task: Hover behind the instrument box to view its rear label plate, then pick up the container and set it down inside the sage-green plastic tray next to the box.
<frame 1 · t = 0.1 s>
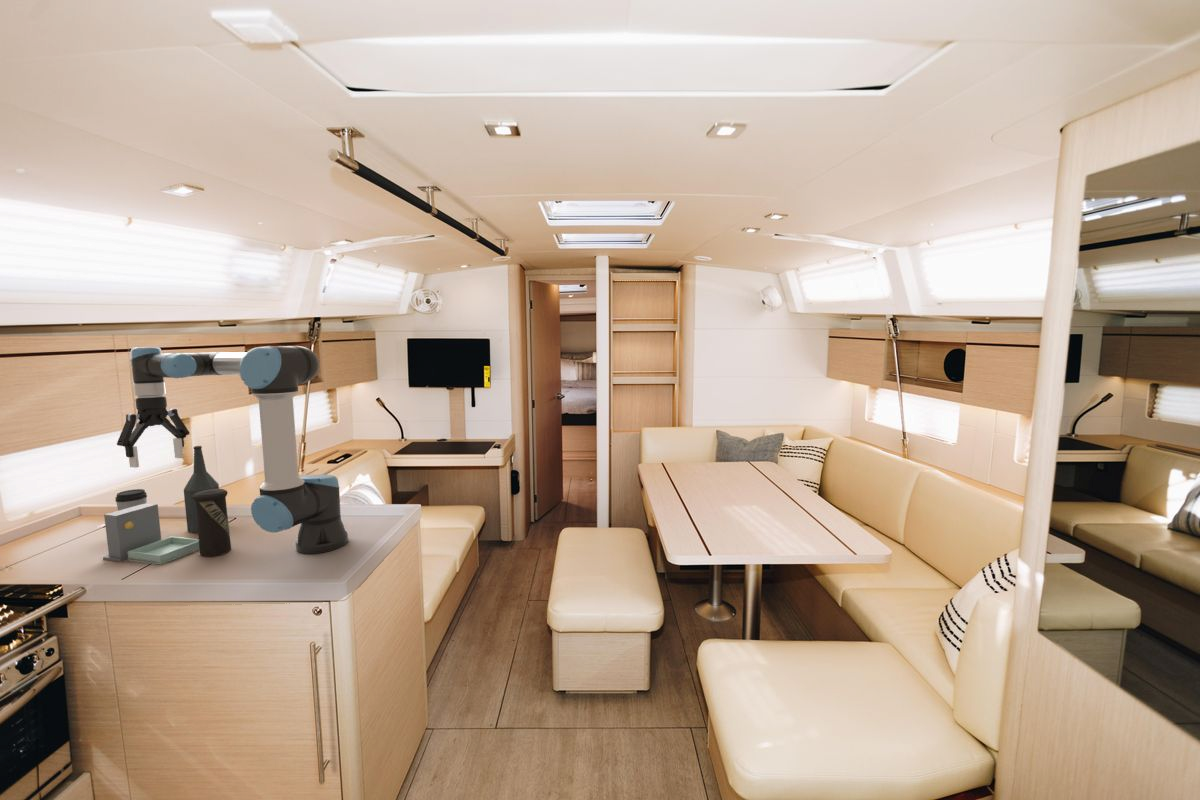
hand: (157, 462, 172), 28 cm above the countertop, fingers open, 13 cm apart
coffee cup: (135, 534, 187), on the countertop
instrument box: (136, 551, 171), on the countertop
bottle: (205, 529, 192), on the countertop
tray: (167, 554, 169), on the countertop
container: (215, 552, 170), on the countertop
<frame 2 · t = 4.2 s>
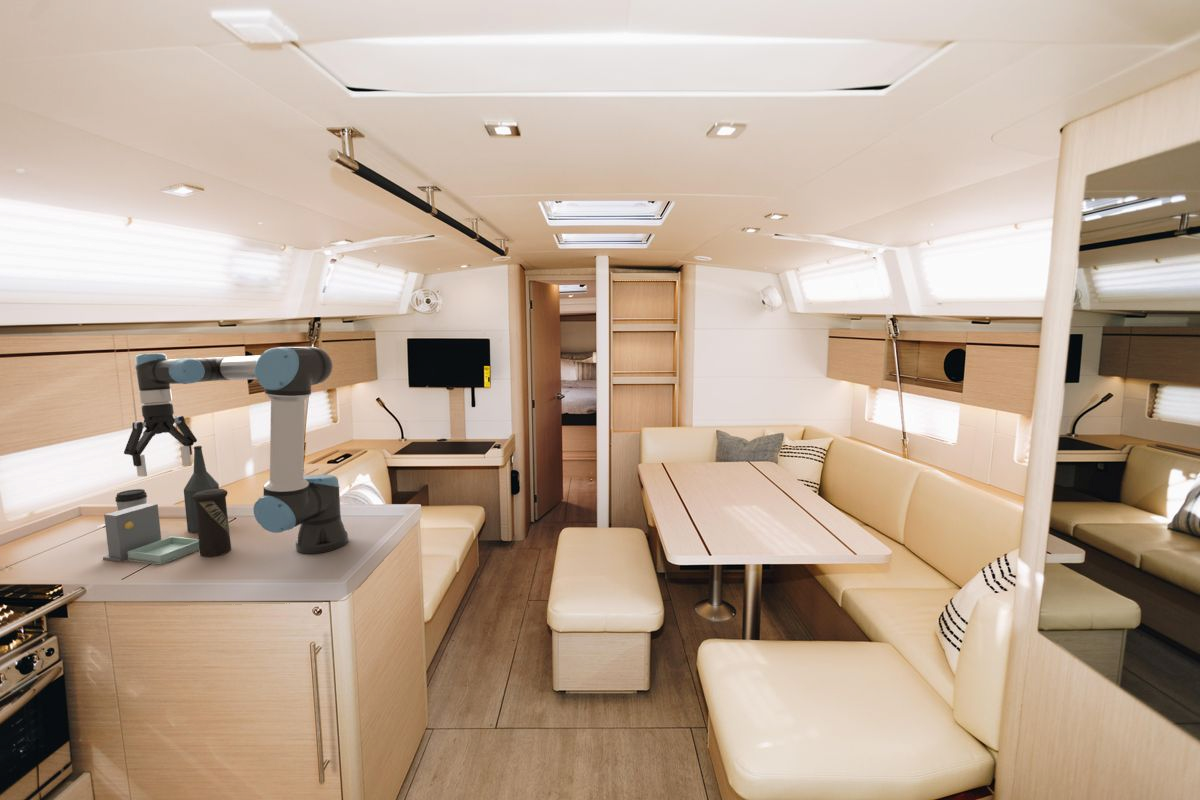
hand: (165, 470, 168), 26 cm above the countertop, fingers open, 13 cm apart
nothing on the countertop moved.
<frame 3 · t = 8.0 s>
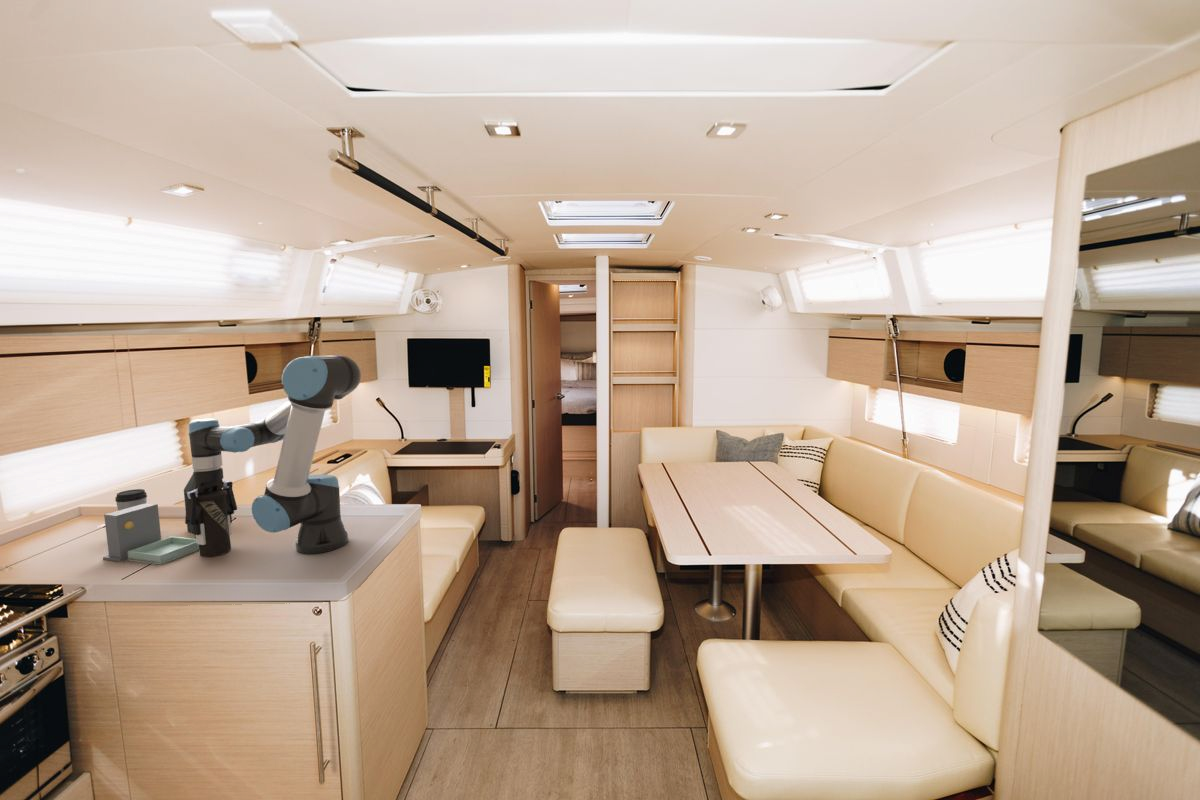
hand: (214, 539, 170), 4 cm above the countertop, fingers closed on container, 8 cm apart
container: (215, 552, 170), on the countertop, touching gripper
everything else where it was.
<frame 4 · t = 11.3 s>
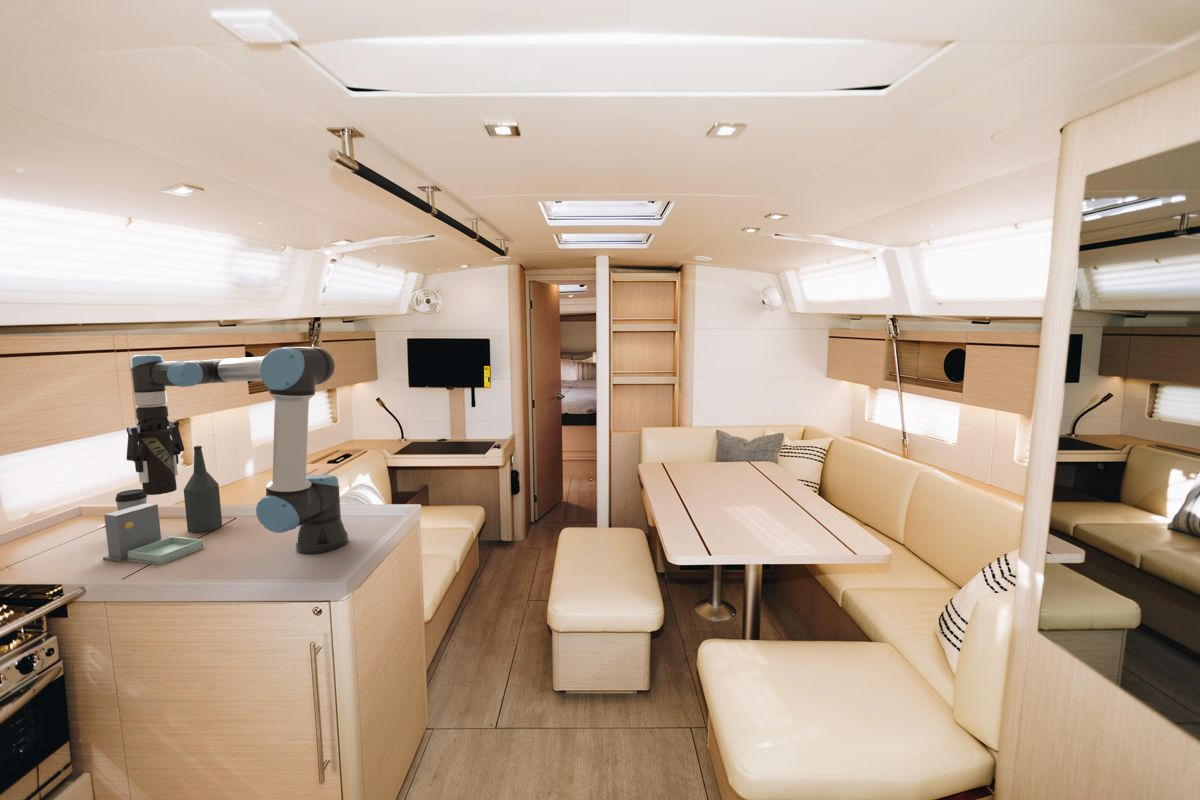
hand: (159, 478, 166), 24 cm above the countertop, fingers closed on container, 8 cm apart
container: (160, 492, 167), point 20 cm above the countertop, touching gripper
everything else where it was.
when the fingers open (7 cm above the countertop, at t = 14.8 s): container drops 1 cm, resting on tray.
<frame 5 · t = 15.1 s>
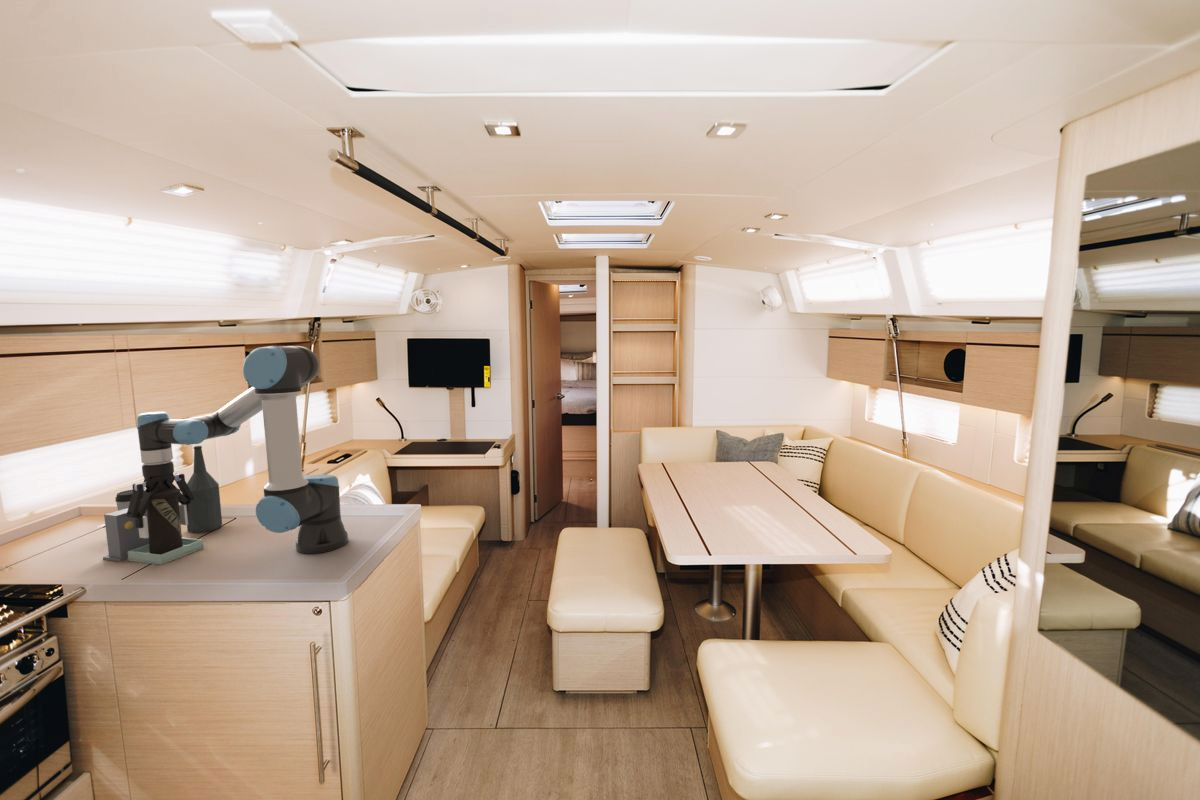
hand: (164, 530, 168), 8 cm above the countertop, fingers open, 11 cm apart
container: (166, 551, 169), point 1 cm above the countertop, touching tray
everything else where it was.
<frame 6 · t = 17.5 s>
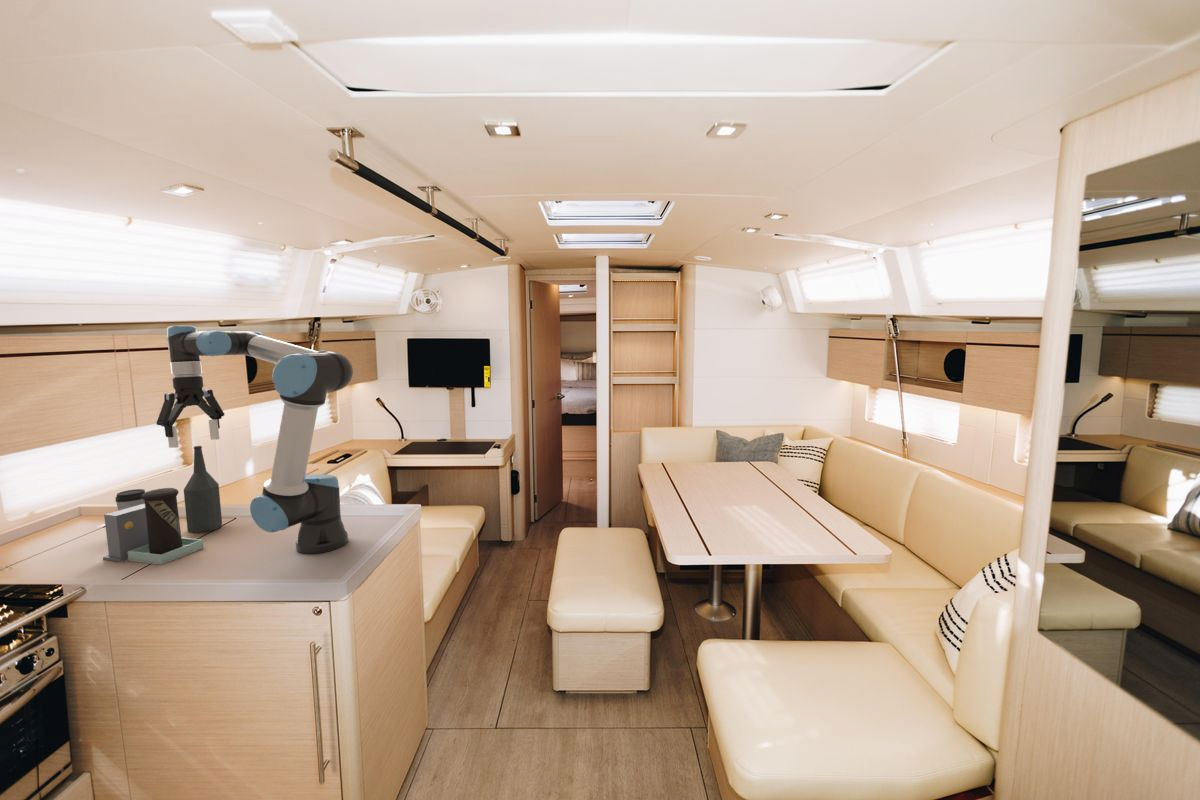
hand: (195, 443, 169), 34 cm above the countertop, fingers open, 13 cm apart
nothing on the countertop moved.
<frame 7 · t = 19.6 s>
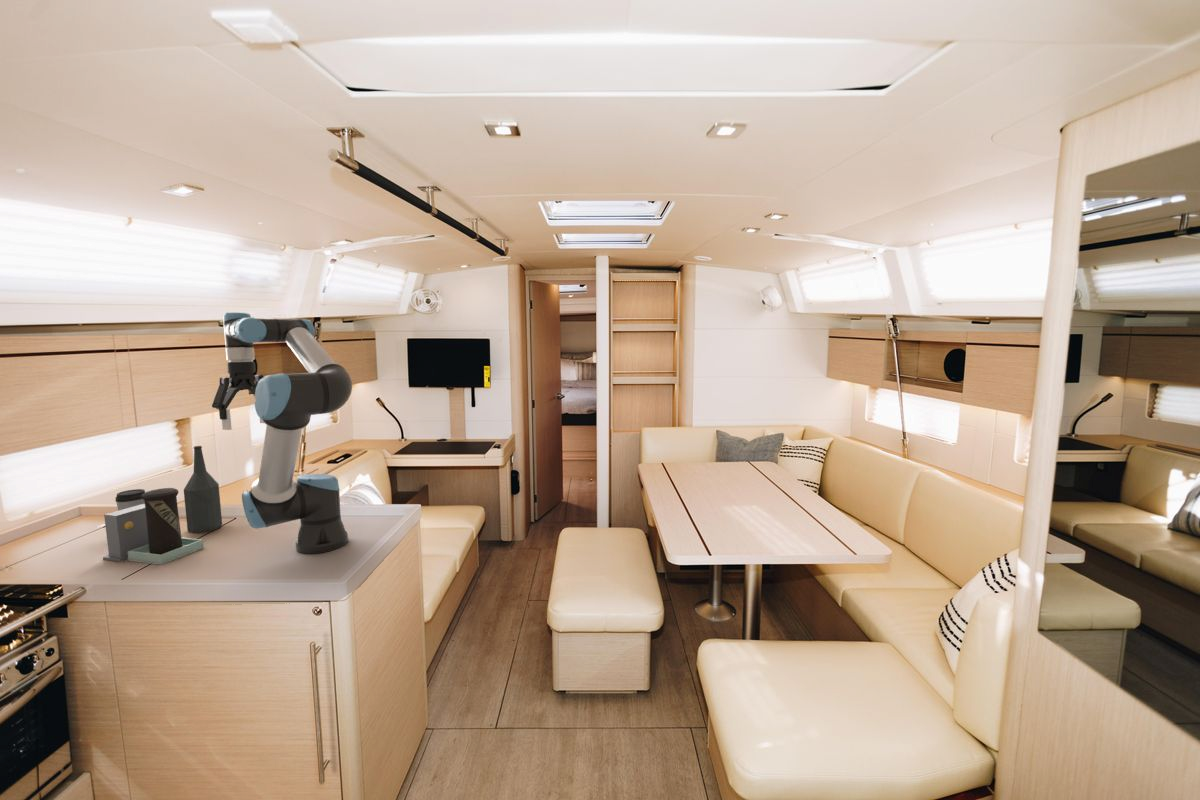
hand: (246, 426, 175), 39 cm above the countertop, fingers open, 13 cm apart
nothing on the countertop moved.
at the end: container inside the target area on the tray (0.2 cm from its centre), point 0.6 cm above the tray's base; container tilted 0°; the gripper is holding nothing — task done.
